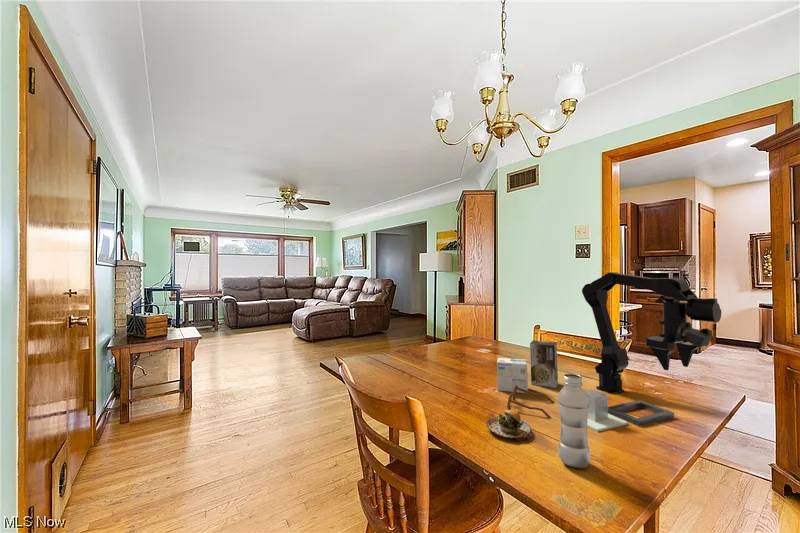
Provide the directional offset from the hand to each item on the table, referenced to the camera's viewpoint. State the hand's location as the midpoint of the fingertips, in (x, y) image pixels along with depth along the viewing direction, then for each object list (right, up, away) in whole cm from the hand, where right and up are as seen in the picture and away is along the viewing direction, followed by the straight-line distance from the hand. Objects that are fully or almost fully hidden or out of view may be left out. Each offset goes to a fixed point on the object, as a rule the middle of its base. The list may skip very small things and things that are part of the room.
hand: (675, 368), depth 103 cm
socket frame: (-14, -13, -3) cm, 19 cm away
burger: (-56, -14, -12) cm, 59 cm away
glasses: (-43, -14, +5) cm, 46 cm away
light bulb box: (-44, -14, +20) cm, 51 cm away
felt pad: (-29, -13, -5) cm, 32 cm away
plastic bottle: (-46, -14, -27) cm, 56 cm away
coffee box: (-30, -14, +25) cm, 42 cm away
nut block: (-29, -13, -5) cm, 32 cm away
